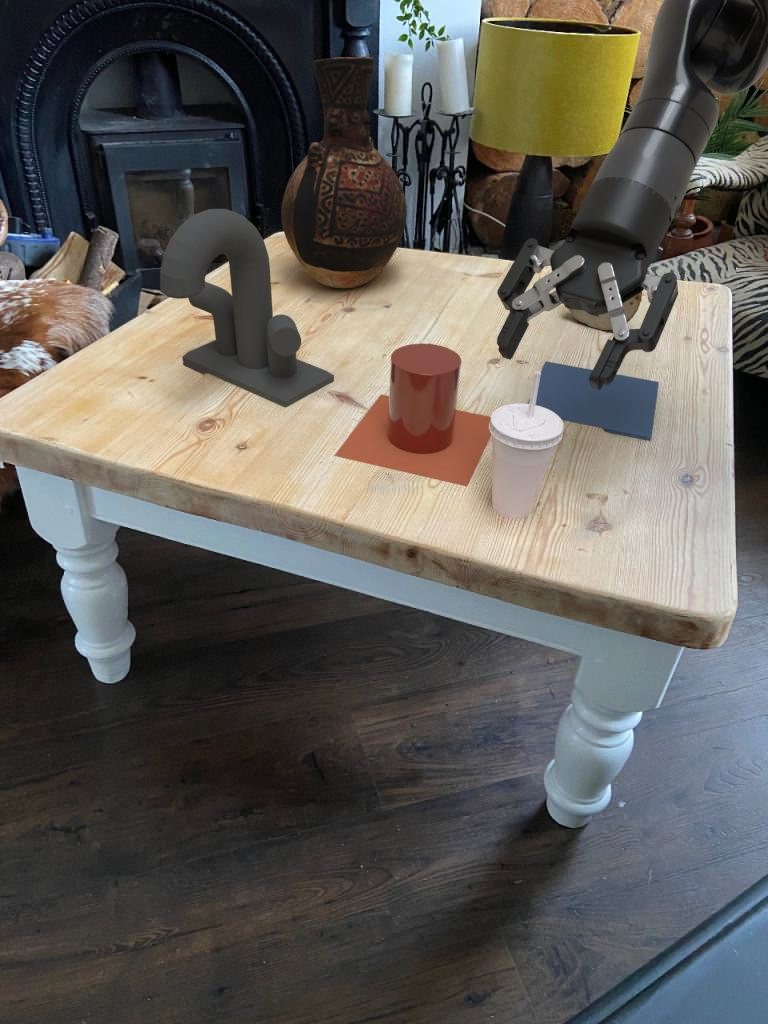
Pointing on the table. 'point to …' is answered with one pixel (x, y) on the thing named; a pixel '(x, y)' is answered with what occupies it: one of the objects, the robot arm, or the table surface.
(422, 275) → the table surface
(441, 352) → the canister
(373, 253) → the ceramic vessel
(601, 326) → the stone disc
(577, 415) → the blue mat
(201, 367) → the faucet
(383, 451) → the terracotta mat
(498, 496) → the smoothie
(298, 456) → the table surface
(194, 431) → the table surface
